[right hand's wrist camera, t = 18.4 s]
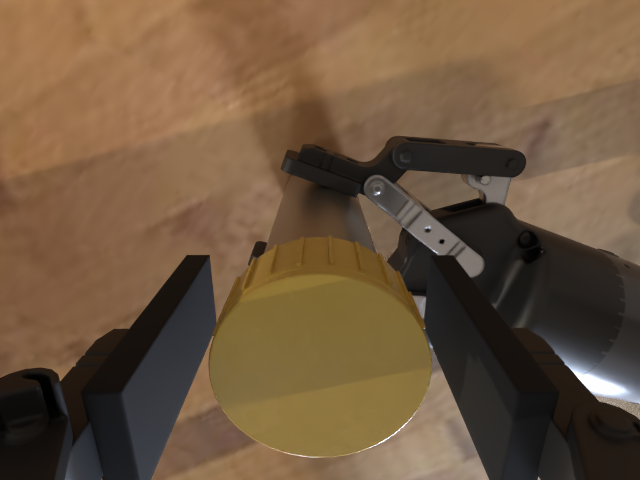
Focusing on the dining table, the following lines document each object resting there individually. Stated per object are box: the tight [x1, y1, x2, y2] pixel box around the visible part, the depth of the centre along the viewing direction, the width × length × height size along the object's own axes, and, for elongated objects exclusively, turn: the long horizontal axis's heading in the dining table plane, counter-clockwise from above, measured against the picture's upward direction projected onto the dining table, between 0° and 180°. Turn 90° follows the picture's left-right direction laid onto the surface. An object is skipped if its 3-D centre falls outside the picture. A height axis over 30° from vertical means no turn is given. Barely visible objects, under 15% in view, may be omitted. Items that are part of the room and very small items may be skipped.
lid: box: [209, 235, 432, 458], centre depth 11 cm, size 6×6×2 cm
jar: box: [264, 175, 377, 254], centre depth 19 cm, size 4×4×17 cm
